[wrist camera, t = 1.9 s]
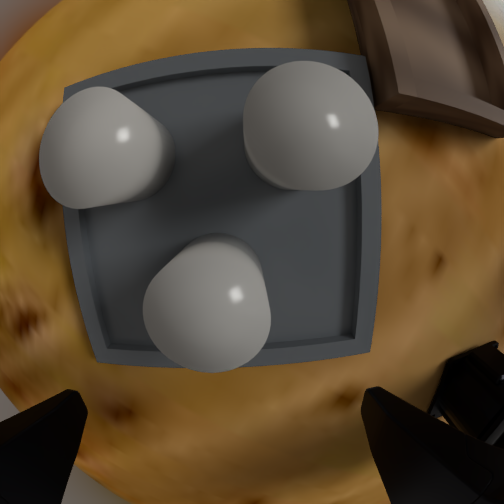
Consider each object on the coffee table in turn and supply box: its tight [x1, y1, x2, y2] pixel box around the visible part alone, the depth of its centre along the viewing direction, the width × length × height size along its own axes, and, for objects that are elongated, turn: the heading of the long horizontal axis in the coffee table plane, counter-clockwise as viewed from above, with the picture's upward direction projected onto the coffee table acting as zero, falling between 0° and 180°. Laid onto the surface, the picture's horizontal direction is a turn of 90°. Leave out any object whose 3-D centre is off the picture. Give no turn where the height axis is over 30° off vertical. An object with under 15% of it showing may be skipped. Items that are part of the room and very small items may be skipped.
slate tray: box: [63, 48, 381, 368], centre depth 12 cm, size 15×15×1 cm
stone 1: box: [39, 87, 175, 209], centre depth 9 cm, size 4×4×4 cm
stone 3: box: [243, 61, 378, 191], centre depth 9 cm, size 4×4×4 cm
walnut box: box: [347, 0, 504, 138], centre depth 9 cm, size 15×11×3 cm
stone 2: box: [143, 233, 271, 373], centre depth 10 cm, size 4×4×4 cm
